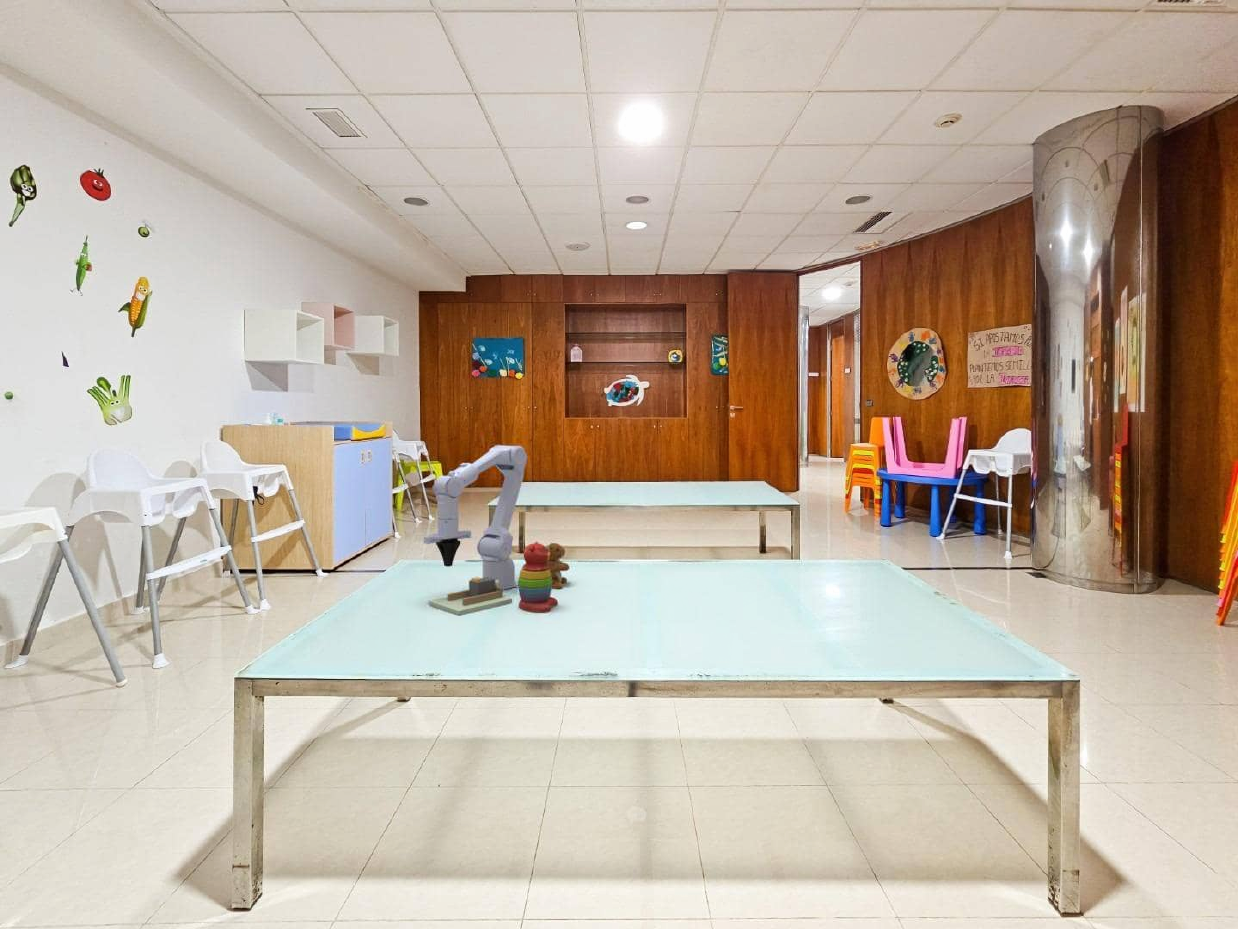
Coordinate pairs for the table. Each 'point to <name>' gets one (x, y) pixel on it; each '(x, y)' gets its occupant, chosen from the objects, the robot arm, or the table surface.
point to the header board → (471, 601)
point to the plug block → (481, 586)
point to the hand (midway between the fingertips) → (448, 565)
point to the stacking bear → (536, 580)
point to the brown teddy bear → (557, 565)
